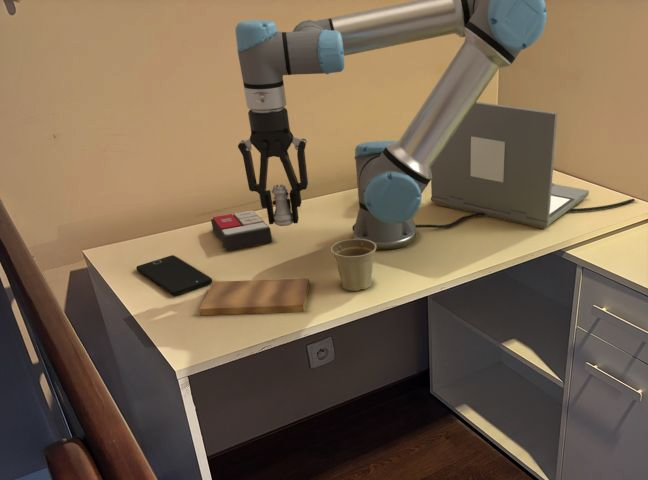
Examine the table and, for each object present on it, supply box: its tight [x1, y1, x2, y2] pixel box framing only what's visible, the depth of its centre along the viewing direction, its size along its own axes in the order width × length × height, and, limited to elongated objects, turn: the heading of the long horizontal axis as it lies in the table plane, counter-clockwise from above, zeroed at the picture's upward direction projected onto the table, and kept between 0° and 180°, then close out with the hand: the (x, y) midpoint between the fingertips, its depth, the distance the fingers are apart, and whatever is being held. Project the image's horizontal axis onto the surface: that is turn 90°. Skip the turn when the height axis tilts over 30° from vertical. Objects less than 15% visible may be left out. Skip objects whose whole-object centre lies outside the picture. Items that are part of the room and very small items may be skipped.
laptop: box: [430, 101, 590, 229], centre depth 180 cm, size 35×26×28 cm
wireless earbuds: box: [272, 191, 292, 210], centre depth 181 cm, size 7×2×5 cm, turn 131°
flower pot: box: [330, 238, 377, 292], centre depth 143 cm, size 9×9×9 cm
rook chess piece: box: [271, 184, 294, 227], centre depth 144 cm, size 4×4×8 cm
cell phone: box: [135, 254, 213, 296], centre depth 148 cm, size 9×18×1 cm, turn 46°
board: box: [199, 277, 311, 316], centre depth 139 cm, size 20×12×2 cm, turn 94°
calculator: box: [210, 209, 273, 251], centre depth 167 cm, size 11×4×15 cm
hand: (284, 221), depth 146 cm, fingers closed on rook chess piece, 4 cm apart
